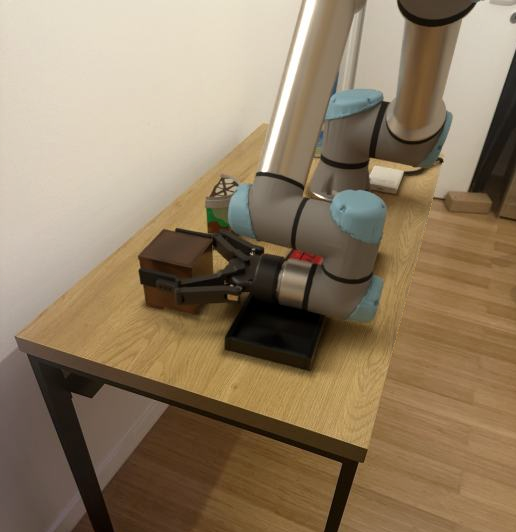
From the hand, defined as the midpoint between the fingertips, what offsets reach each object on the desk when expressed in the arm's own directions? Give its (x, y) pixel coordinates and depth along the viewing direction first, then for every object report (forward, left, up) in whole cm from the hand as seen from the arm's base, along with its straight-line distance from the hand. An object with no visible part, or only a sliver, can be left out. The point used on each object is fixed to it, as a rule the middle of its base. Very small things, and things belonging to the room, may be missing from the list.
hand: (159, 254), depth 77 cm
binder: (-32, -1, -8) cm, 33 cm away
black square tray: (-17, +15, -8) cm, 24 cm away
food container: (-16, -19, -8) cm, 26 cm away
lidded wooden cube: (-3, +2, -8) cm, 9 cm away
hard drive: (-62, -37, -8) cm, 73 cm away
